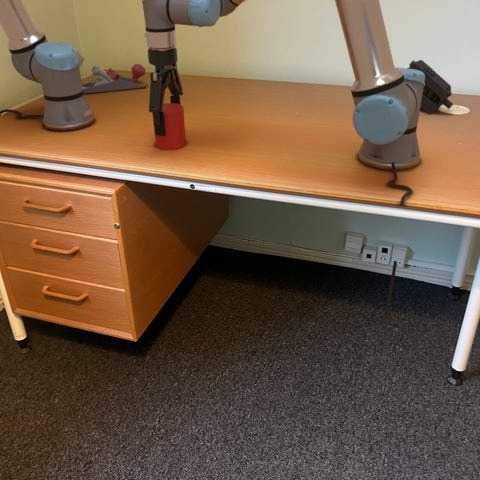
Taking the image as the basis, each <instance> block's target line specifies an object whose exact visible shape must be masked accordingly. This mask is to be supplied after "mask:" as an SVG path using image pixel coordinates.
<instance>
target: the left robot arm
mask: <svg viewBox="0 0 480 480" xmlns="http://www.w3.org/2000/svg"><path fill="white" fill-rule="evenodd" d="M0 26H1V28H2V30H3V32H4V33H5V35H6V37H7V39H8V42H7V46H6V47H7V49H8V51H9V53H10V54H11V56H10V60H11V64H12V67H13V68H14V69H15V71H16V72H17V73H18V74H19V75H20V76H22V77H23V78H25V80H27V81H28V80H29V81H32V82H35V83H37V84H40V85H41V89H42V93H43V98H44V112H43V114H41V113H40V114H23V115H22V112H21V111H20V110H15V109H12V108H11V109H8V108H7V109H2V110H0V116H1V115H2V114H4V113H13V114H16V118H18V119H27V118H42V122H43V126H44V128H45V129H46V130H50V131H55V132H69V131H75V130H80V129H83V128H87V127H89V126H91V125H92V124H93V123H94V122H95V116H94V112H93V111H92V109H91V108H90V105H89V103H88V101H87V99H86V97H85V94H84V93H83V87H82V84H83V82H82V81H83V80H82V75H81V69H80V68H79V61H78V57H77V54H76V50H77V49H76V48H75V47H74V46H73V45H71V44H69V43H68V42H63V41H60V42H59V41H48V38H47V37H46V35H45V33H44V31H43V30H41V29H38V28H36V26H35V24H34V22H33V21H32V19H31V17H30V15H29V13H28V11H27V8H26V7H25V5H24V3H23V1H22V0H0Z"/></svg>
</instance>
